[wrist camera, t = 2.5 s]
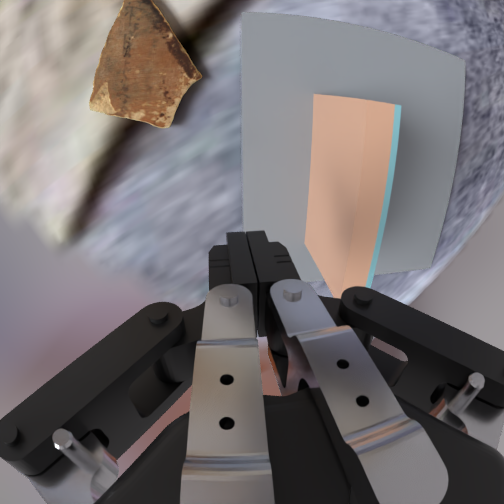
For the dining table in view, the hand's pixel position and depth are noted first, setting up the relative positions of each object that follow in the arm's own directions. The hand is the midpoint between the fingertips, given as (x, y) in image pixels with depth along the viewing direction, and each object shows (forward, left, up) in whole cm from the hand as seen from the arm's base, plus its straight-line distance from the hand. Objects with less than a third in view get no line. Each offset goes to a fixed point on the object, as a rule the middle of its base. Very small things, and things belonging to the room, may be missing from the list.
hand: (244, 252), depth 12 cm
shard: (-9, -7, -13) cm, 17 cm away
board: (-1, +11, -12) cm, 16 cm away
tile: (0, +7, -11) cm, 13 cm away
